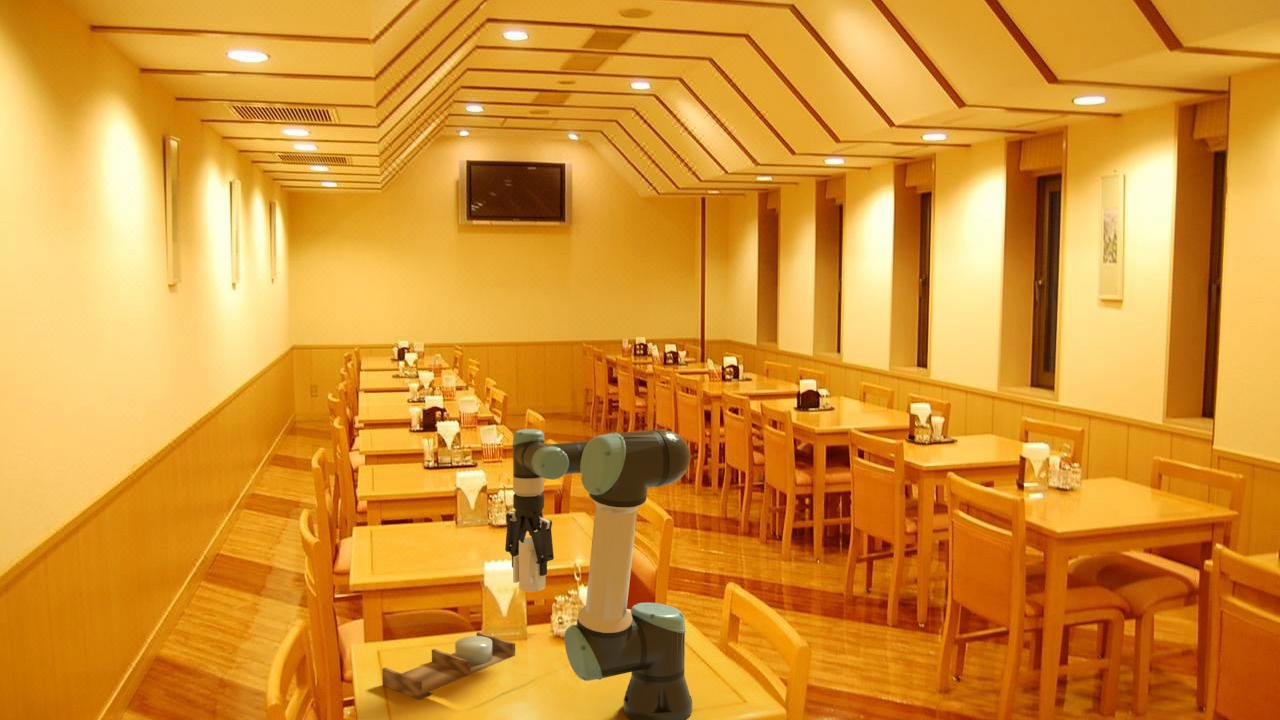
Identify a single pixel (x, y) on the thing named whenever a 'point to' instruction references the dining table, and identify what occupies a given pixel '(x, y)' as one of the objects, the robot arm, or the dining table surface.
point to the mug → (527, 565)
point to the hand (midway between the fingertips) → (529, 584)
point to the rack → (443, 670)
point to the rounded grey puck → (474, 649)
